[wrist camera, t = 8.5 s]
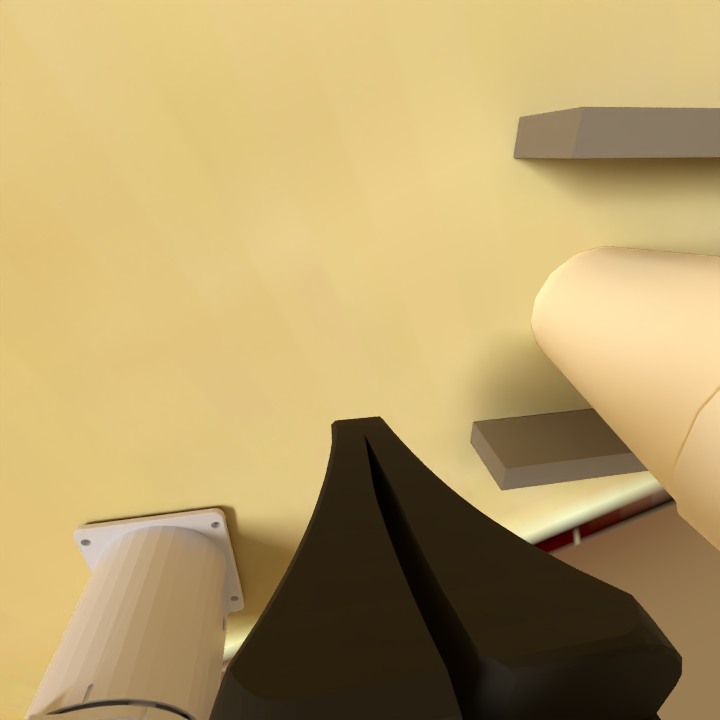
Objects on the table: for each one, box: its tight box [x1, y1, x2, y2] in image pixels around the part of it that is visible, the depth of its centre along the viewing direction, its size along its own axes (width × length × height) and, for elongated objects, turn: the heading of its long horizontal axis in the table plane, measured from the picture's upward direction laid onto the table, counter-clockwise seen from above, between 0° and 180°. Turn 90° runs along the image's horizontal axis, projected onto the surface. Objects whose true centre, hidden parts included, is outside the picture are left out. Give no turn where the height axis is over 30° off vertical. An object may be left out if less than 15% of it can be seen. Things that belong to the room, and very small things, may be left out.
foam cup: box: [531, 246, 720, 551], centre depth 15 cm, size 10×9×13 cm
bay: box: [470, 107, 720, 490], centre depth 20 cm, size 17×16×4 cm
